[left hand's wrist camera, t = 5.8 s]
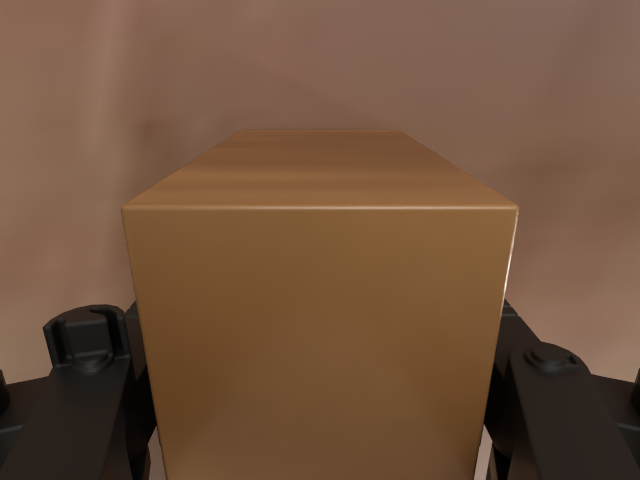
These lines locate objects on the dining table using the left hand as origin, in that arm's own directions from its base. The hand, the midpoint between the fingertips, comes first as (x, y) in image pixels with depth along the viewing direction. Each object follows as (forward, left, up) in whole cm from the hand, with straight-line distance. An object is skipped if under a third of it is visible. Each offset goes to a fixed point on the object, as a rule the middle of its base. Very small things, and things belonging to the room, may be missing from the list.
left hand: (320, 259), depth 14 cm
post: (+11, +34, -1) cm, 36 cm away
